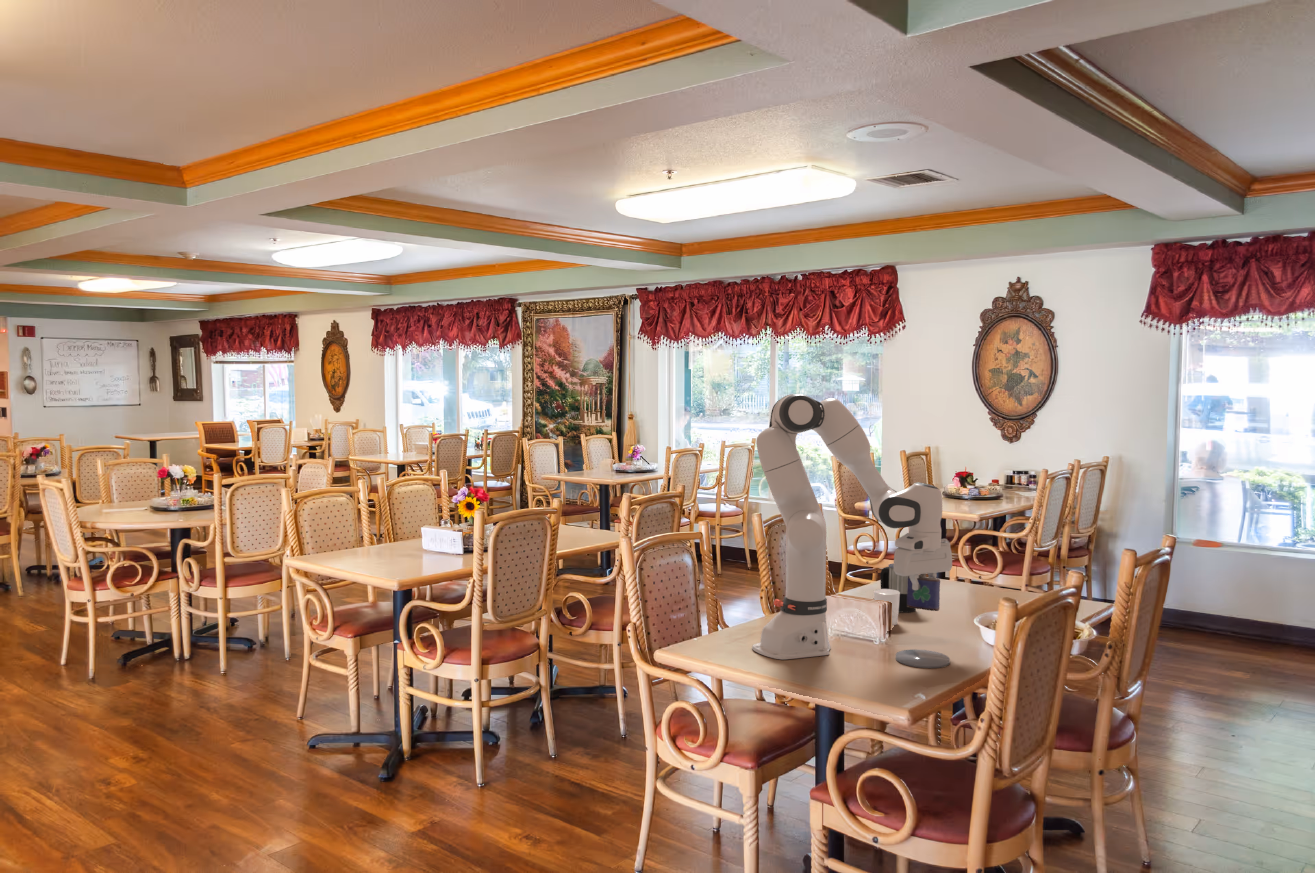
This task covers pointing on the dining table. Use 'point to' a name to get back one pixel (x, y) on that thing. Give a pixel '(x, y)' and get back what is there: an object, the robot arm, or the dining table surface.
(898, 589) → the milk frother
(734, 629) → the dining table surface
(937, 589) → the flask
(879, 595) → the white cup
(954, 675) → the dining table surface
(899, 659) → the plate
